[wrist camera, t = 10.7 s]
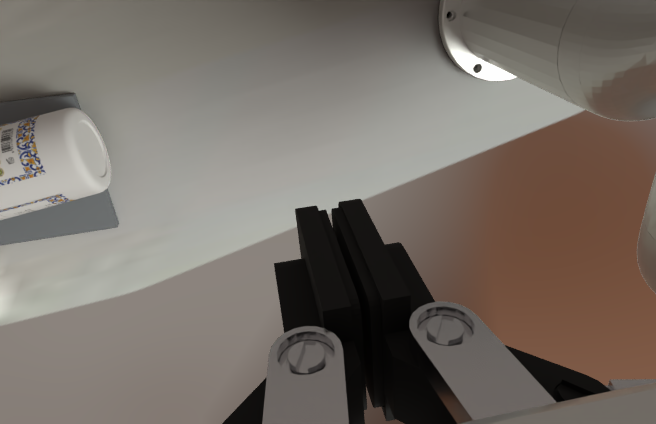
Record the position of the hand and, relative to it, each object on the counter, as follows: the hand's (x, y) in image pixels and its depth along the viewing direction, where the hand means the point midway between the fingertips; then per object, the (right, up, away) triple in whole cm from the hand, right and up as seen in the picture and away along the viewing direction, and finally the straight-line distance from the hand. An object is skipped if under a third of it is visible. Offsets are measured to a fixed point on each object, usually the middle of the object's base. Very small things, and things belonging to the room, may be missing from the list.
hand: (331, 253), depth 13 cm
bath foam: (-18, +6, +26) cm, 33 cm away
